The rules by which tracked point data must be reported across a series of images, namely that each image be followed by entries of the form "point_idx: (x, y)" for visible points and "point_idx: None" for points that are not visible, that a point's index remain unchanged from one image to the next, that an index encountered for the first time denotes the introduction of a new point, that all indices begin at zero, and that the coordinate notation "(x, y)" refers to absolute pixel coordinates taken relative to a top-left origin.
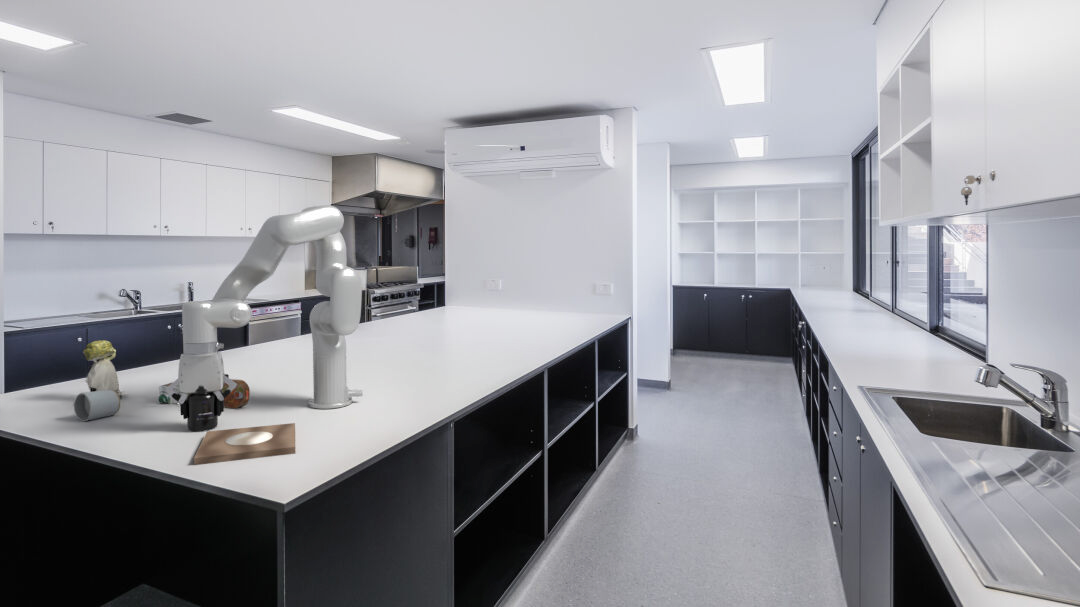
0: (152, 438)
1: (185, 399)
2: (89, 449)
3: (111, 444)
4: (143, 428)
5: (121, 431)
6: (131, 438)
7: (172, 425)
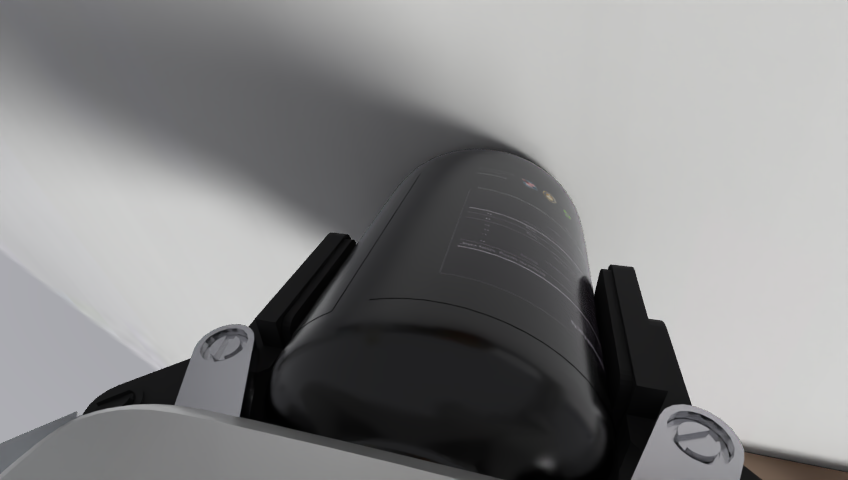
0: (267, 303)
1: (263, 392)
2: (114, 329)
3: (148, 307)
4: (109, 76)
5: (33, 100)
6: (173, 260)
7: (256, 66)
